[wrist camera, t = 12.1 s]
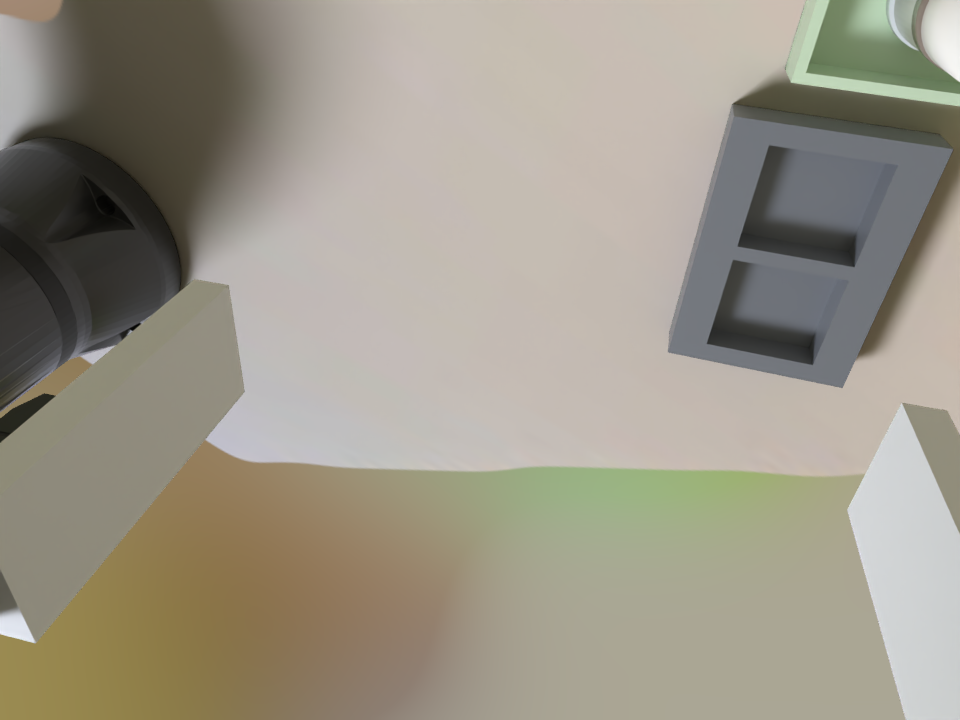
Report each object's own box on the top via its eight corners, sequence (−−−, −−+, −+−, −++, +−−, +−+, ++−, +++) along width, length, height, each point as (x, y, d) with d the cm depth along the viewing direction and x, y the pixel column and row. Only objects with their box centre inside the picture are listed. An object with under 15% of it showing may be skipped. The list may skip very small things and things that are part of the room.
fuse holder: (669, 332, 45) (667, 352, 43) (732, 103, 37) (733, 116, 35) (836, 365, 43) (842, 387, 41) (939, 134, 35) (953, 149, 33)
